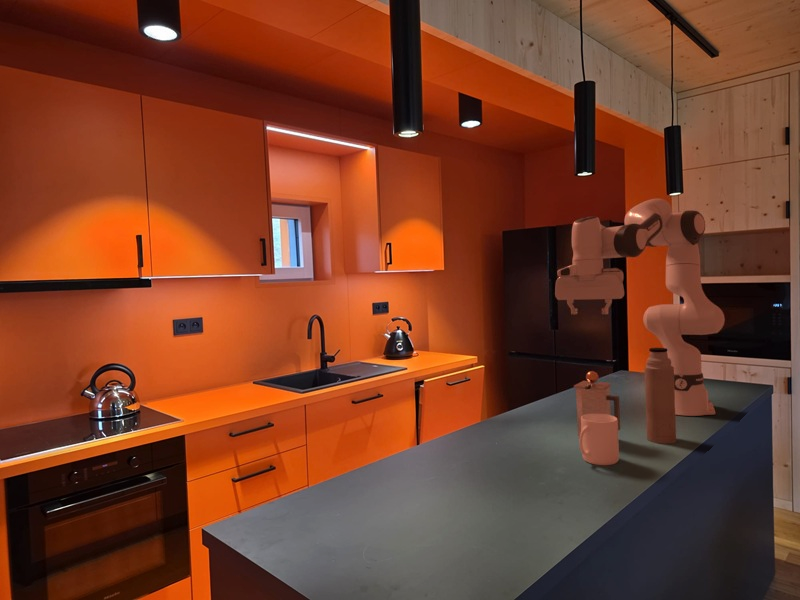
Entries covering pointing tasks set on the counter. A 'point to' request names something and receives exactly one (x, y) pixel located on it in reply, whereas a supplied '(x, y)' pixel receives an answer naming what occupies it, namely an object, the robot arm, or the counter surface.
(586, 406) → the press carafe
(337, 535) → the counter surface
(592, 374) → the copper ball on rod
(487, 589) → the counter surface
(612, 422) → the mug
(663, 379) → the thermos bottle
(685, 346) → the robot arm
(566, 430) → the counter surface
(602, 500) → the counter surface
